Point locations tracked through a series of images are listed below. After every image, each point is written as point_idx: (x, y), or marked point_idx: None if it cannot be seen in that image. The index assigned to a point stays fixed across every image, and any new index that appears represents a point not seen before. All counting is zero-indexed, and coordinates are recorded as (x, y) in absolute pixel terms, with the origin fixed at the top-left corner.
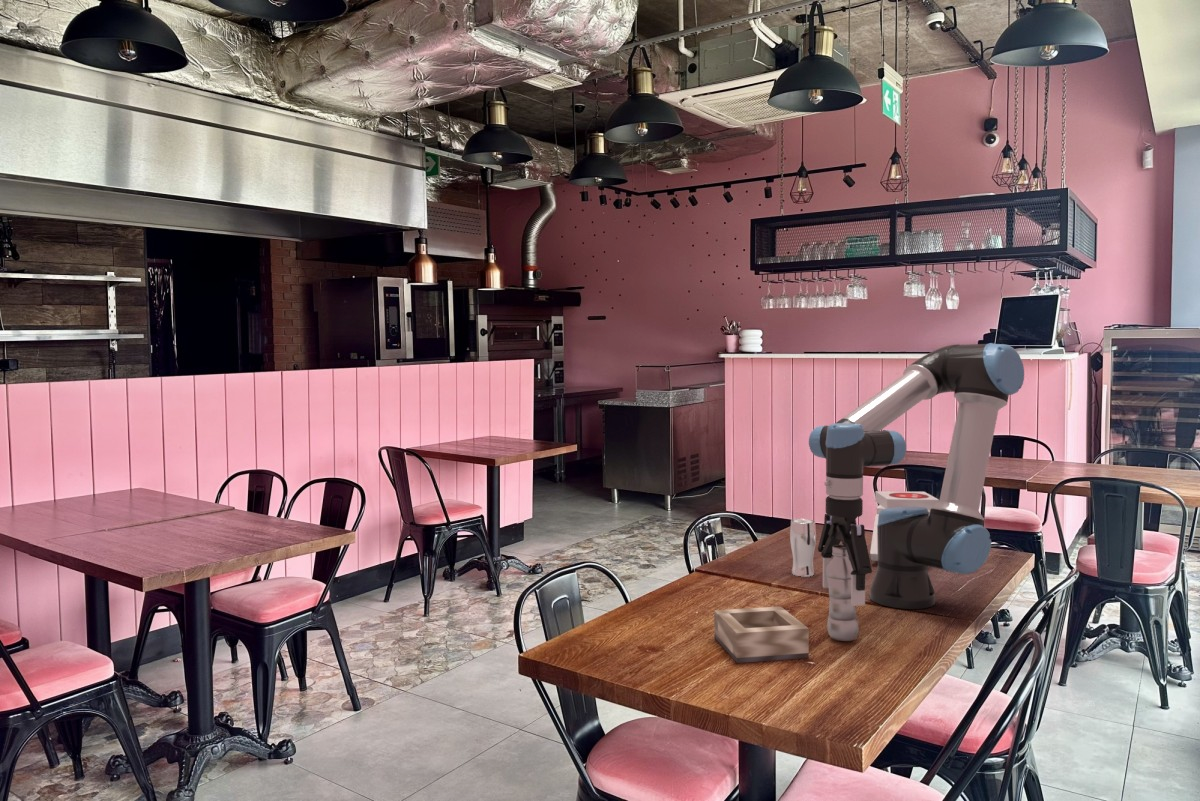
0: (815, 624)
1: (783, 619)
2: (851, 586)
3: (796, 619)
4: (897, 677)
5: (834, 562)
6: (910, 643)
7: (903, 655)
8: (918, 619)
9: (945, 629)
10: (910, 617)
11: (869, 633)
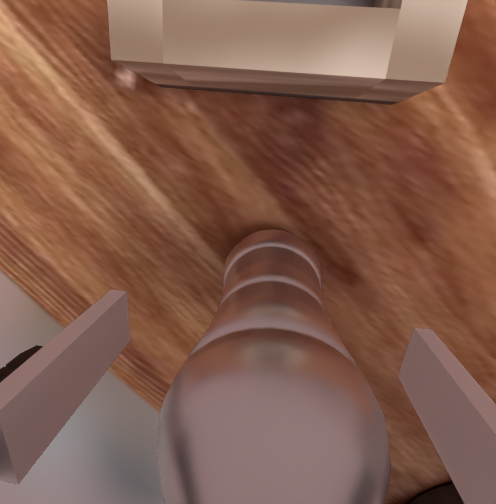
0: (419, 260)
1: (268, 4)
2: (66, 344)
3: (234, 64)
4: (18, 241)
5: (235, 463)
6: None
7: (141, 328)
8: None
9: None
10: None
11: None
